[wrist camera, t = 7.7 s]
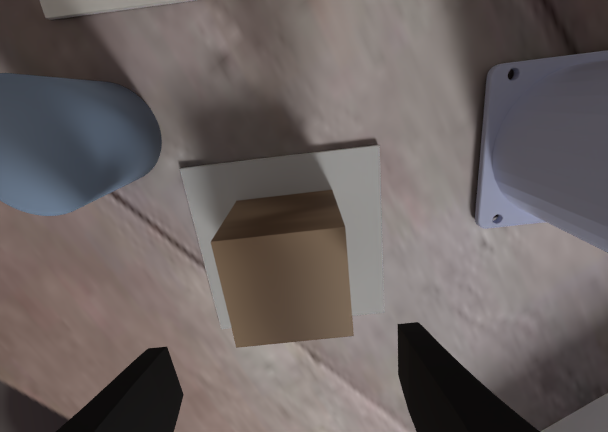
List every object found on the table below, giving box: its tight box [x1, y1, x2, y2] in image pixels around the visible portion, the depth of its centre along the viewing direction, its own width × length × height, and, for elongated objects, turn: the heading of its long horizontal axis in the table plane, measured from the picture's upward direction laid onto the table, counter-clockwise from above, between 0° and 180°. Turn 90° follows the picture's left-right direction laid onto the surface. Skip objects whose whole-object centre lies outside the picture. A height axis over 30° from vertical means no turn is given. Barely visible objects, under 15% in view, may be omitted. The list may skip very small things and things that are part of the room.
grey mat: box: [180, 145, 384, 329], centre depth 17 cm, size 10×10×1 cm
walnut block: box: [211, 190, 354, 348], centre depth 15 cm, size 5×5×5 cm
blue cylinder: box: [0, 73, 162, 216], centre depth 13 cm, size 5×5×5 cm
